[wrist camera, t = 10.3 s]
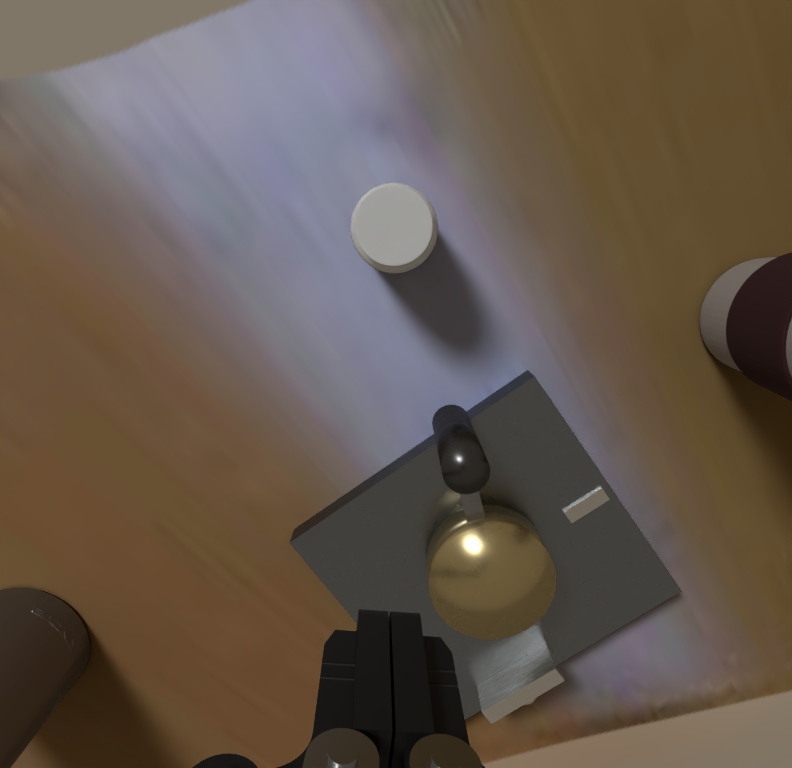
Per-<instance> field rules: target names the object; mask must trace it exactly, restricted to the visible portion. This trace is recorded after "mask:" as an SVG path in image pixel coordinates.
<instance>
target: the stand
mask: <svg viewBox="0 0 792 768" xmlns="http://www.w3.org/2000/svg"><path fill="white" fill-rule="evenodd" d="M467 414H468V416H469V418H470V421H471V423H472V425H473V428H474V430H475V432H476V434H477V437H478V439H479V441H480V444H481V446H482V448H483V451H484V453H485V455H486V458H487V460H488V462H489V465H490V477H489V480H488V482H487V484H486V485H485V486H484V487H483V488H482V489H481V490H479V494H480V498H481V502H482V505H497V506H503V507H506V508H509V509H512V510H514V511H516V512H518V513H519V514H521V515H523V516H524V517H525V518H526V519H528V520H529V521H530V522H531V523H532V525H533V526H534V527H535V528H536V530H537V531H538V533H539V535H540V537H541V539H542V541H543V543H544V545H545V547H546V549H547V551H548V553H549V555H550V557H551V559H552V561H553V564H554V567H555V572H556V590H555V594H554V597H553V600H552V602H551V605H550V607H549V608H548V610H547V611H546V613H545V614H544V615H543V616H542V618H541V619H540V620H539V621H538V622H537V623H536V624H534V625H533V626H532V627H530V628H529V629H527V630H525V631H524V632H522V633H519V634H517V635H515V636H511V637H508V638H503V639H495V640H486V639H478V638H473V637H470V636H466V635H464V634H462V633H460V632H458V631H456V630H455V629H453V628H452V627H450V626H449V625H448V624H447V623H446V622H445V621H444V620H443V619H442V618H441V617H440V616H439V614H438V613H437V611H436V609H435V608H434V606H433V603H432V600H431V597H430V592H429V582H428V571H427V551H428V547H429V544H430V541H431V538H432V537H433V535H434V533H435V531H436V530H437V529H438V527H439V526H440V525H441V524H442V523H443V522H444V521H445V520H446V519H448V518H449V517H450V516H452V515H453V514H455V513H457V512H459V511H461V510H463V505H462V501H461V497H460V494H459V493H456V492H454V491H452V490H451V489H450V488H449V487H448V486H447V485H446V484H445V482H444V479H443V476H442V471H441V466H440V461H439V456H438V450H437V445H436V440H435V435H434V434H433V435H432V436H430V437H429V438H427V439H426V440H424V441H423V442H422V443H420V444H419V445H417V446H416V447H414V448H413V449H411V450H410V451H408V452H407V453H405V454H404V455H402V456H401V457H400V458H398V459H397V460H395V461H394V462H392V463H391V464H389V465H388V466H386V467H385V468H383V469H382V470H380V471H379V472H378V473H376V474H375V475H373V476H372V477H370V478H369V479H367V480H366V481H364V482H363V483H361V484H360V485H358V486H357V487H356V488H354V489H353V490H351V491H350V492H348V493H347V494H345V495H344V496H342V497H341V498H339V499H338V500H336V501H335V502H334V503H332V504H331V505H329V506H328V507H326V508H325V509H323V510H322V511H320V512H319V513H317V514H316V515H314V516H313V517H312V518H310V519H309V520H307V521H306V522H304V523H303V524H301V525H300V526H298V527H297V528H295V530H294V532H293V535H292V538H291V540H290V544H291V545H292V546H293V548H294V549H295V550H296V551H297V552H298V553H299V555H300V556H301V557H302V558H303V559H304V561H305V562H306V563H307V564H308V565H309V567H310V568H311V569H312V570H313V571H314V573H315V574H316V575H317V576H318V577H319V579H320V580H321V581H322V582H323V583H324V584H325V586H326V587H327V588H328V589H329V590H330V592H331V593H332V594H333V595H334V596H335V598H336V599H337V600H338V601H339V602H340V604H341V605H342V606H343V607H344V608H345V610H346V611H347V612H348V613H349V614H350V616H351V617H352V618H353V619H354V620H355V621H356V623H357V620H358V611H359V609H364V610H378V611H388V614H390V611H393V612H407V613H420V616H421V624H422V632H423V636H432V637H441V638H442V640H443V641H444V642H445V644H446V645H447V647H448V648H449V649H450V651H451V652H452V655H453V660H454V666H455V674H456V676H457V682H458V688H459V692H460V698H461V703H462V708H463V714H464V719H465V720H466V719H467V718H469V717H471V716H472V715H474V714H476V713H477V712H479V711H482V713H483V714H484V715H485V717H486V718H487V719H488V720H489V722H490V723H491V724H492V723H494V722H496V721H497V720H499V719H501V718H502V717H504V716H506V715H507V714H509V713H511V712H513V711H514V710H516V709H518V708H519V707H521V706H523V705H530V704H532V703H533V702H534V701H535V700H536V698H537V697H538V696H540V695H541V694H543V693H545V692H547V691H548V690H550V689H552V688H553V687H555V686H557V685H558V684H560V683H562V682H564V681H565V680H564V678H563V675H562V672H561V670H560V667H559V665H558V664H560V663H562V662H563V661H565V660H567V659H568V658H570V657H572V656H573V655H575V654H577V653H578V652H580V651H582V650H584V649H585V648H587V647H589V646H590V645H592V644H594V643H595V642H597V641H599V640H600V639H602V638H604V637H605V636H607V635H609V634H610V633H612V632H614V631H616V630H617V629H619V628H621V627H622V626H624V625H626V624H627V623H629V622H631V621H632V620H634V619H636V618H637V617H639V616H641V615H642V614H644V613H646V612H648V611H649V610H651V609H653V608H654V607H656V606H658V605H659V604H661V603H663V602H664V601H666V600H668V599H669V598H671V597H673V596H674V595H676V594H678V593H680V592H681V590H680V588H679V587H678V585H677V584H676V582H675V581H674V579H673V578H672V576H671V575H670V574H669V572H668V571H667V569H666V568H665V566H664V565H663V563H662V562H661V560H660V559H659V557H658V556H657V555H656V553H655V552H654V550H653V549H652V547H651V546H650V544H649V543H648V541H647V540H646V539H645V537H644V536H643V534H642V533H641V531H640V530H639V528H638V527H637V525H636V524H635V522H634V521H633V520H632V518H631V517H630V515H629V514H628V512H627V511H626V509H625V508H624V506H623V505H622V503H621V502H620V501H619V499H618V498H617V496H616V495H615V493H614V492H613V490H612V489H611V487H610V486H609V484H608V483H607V482H606V480H605V479H604V477H603V476H602V474H601V473H600V471H599V470H598V468H597V467H596V465H595V464H594V463H593V461H592V460H591V458H590V457H589V455H588V454H587V452H586V451H585V449H584V448H583V446H582V445H581V444H580V442H579V441H578V439H577V438H576V436H575V435H574V433H573V432H572V430H571V429H570V427H569V426H568V425H567V423H566V422H565V420H564V419H563V417H562V416H561V414H560V413H559V411H558V410H557V408H556V407H555V406H554V404H553V403H552V401H551V400H550V398H549V397H548V395H547V394H546V392H545V391H544V389H543V388H542V387H541V385H540V384H539V382H538V381H537V379H536V378H535V376H534V375H532V374H531V373H530V372H529V371H528V370H527V371H526V372H524V373H523V374H521V375H520V376H518V377H517V378H515V379H514V380H512V381H511V382H510V383H508V384H507V385H505V386H504V387H502V388H501V389H499V390H498V391H496V392H495V393H493V394H492V395H490V396H489V397H488V398H486V399H485V400H483V401H482V402H480V403H479V404H477V405H476V406H474V407H473V408H471V409H470V410H468V411H467Z"/></svg>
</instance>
